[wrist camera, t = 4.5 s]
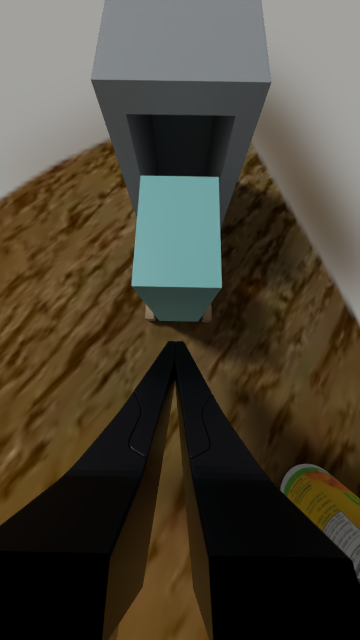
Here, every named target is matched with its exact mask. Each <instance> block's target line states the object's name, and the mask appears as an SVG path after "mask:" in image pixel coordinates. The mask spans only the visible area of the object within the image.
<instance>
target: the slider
mask: <svg viewBox="0 0 360 640" xmlns="http://www.w3.org/2000/svg"><path fill="white" fill-rule="evenodd" d="M132 287H133V288H134V290H135V291H136V292H137V294H138V295H139V296H140V297H141V299H142V300H143V301H144V302H145V304H146V305H147V306H148V307H149V309H150V310H151V311H152V312H153V314H154V315H155V316H156V317H157V319H158V320H159V321H194V322H198V321H199V319H200V318H201V317H202V315H203V314H204V312H205V311H206V310H207V308H208V307H209V305H210V304H211V303H212V301H213V300H214V298H215V297H216V295H217V294H218V293H219V291H220V290H221V288H222V274H221V240H220V206H219V177H193V176H141V177H140V189H139V202H138V214H137V226H136V238H135V250H134V263H133V275H132Z"/></svg>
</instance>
